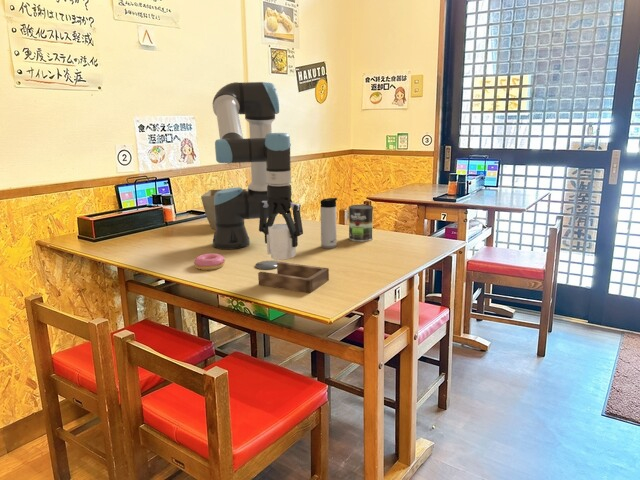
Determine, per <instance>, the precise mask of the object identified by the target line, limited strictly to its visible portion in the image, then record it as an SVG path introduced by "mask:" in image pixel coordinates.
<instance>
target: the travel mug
mask: <svg viewBox="0 0 640 480" xmlns="http://www.w3.org/2000/svg"><path fill="white" fill-rule="evenodd" d="M337 201H338V198H337V197H330V198H329V197H328V198H323V199H321V200H320V246H321V248H323V249H326V250H329V249H336V248H337V246H338V245H337V240H338V239H337Z"/></svg>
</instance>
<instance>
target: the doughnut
mask: <svg viewBox="0 0 640 480" xmlns="http://www.w3.org/2000/svg"><path fill="white" fill-rule="evenodd" d="M225 262H226V258H225V257H224V256H223V255H222V254H219V253H211V252H210V253H204V254H200V255H197V256H196V257H195V258H194V261H193V264H194V267H195V269H196V268H197V269H198V270H200V269H201V271H213V270H214V269H215V270H217V269H218V270H219V269H221V268H222V267H223V266H224V265H225Z"/></svg>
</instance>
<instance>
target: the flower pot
mask: <svg viewBox="0 0 640 480" xmlns="http://www.w3.org/2000/svg"><path fill="white" fill-rule="evenodd" d="M224 189H225V188H224ZM224 189H223V188H221V189H209V190H208V191H206V192H204V193H203V194H201V195H200V197H201V198H200V199H201V202H202V203H201V204H202V206H203V210H204V213H205V216H206V218H207V221H208V224H209V226H210V229H212V230H216V219H215V205H214V195H215V193H216V192H218V191H220V190H224ZM242 189H243V191H248V188H242Z"/></svg>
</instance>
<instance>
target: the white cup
mask: <svg viewBox="0 0 640 480" xmlns="http://www.w3.org/2000/svg"><path fill="white" fill-rule="evenodd" d="M268 233H269V243H270V250H271V254H270V258H271V259H273V260H275V261H282V260H283V261H284V260H289V259H291V258H290V256H289V237H291V234H290V232H289V229H288V226H287V224H286V223H273V225H272V226H271V227H268Z"/></svg>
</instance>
